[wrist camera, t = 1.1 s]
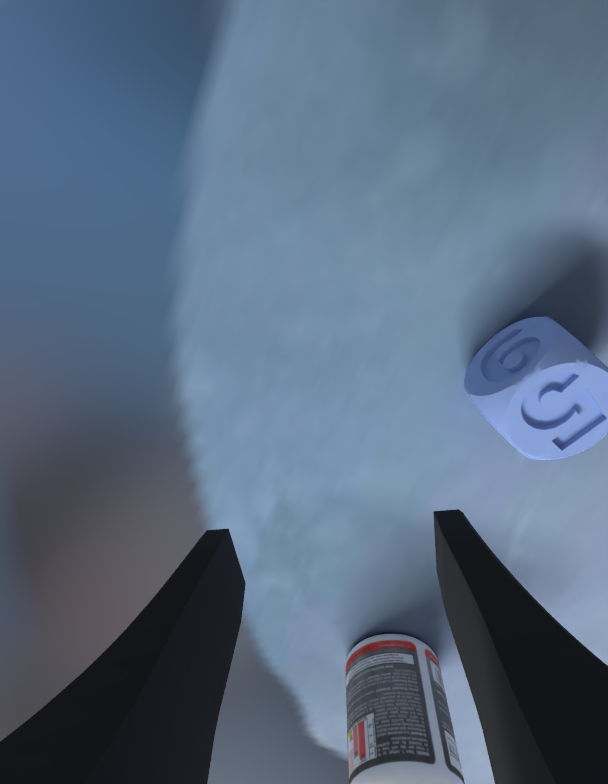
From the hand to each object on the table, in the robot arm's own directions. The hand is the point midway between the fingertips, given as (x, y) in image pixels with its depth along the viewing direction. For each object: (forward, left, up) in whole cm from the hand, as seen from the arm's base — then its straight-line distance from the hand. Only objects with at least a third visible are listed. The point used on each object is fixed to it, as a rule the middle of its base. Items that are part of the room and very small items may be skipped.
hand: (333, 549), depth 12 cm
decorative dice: (0, -8, -10) cm, 13 cm away
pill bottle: (-19, -1, -10) cm, 21 cm away
